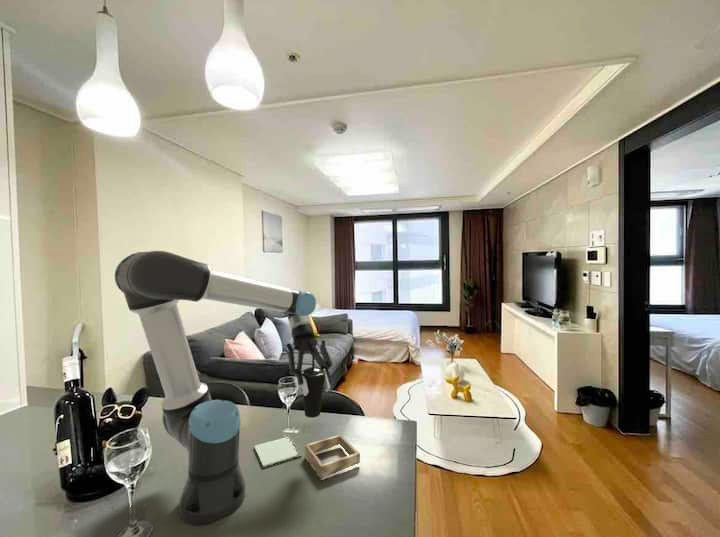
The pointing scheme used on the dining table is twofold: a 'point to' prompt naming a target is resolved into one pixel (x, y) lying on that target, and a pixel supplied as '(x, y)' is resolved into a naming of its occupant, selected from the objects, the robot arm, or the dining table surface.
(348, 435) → the dining table surface
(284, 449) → the sage mat
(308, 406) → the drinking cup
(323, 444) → the oak crate frame
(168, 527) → the dining table surface
